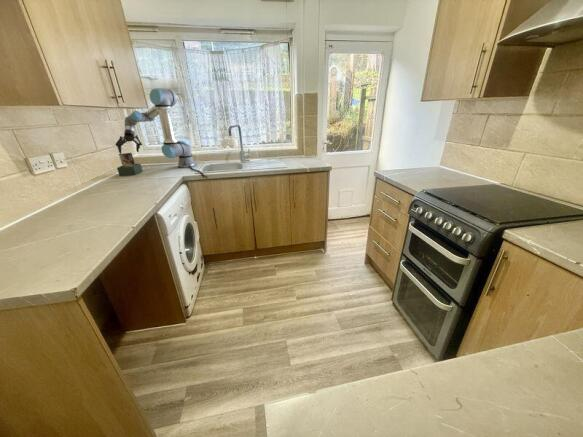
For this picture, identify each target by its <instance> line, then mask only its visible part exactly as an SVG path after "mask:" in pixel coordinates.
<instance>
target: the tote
mask: <svg viewBox="0 0 583 437" xmlns="http://www.w3.org/2000/svg"><path fill="white" fill-rule="evenodd" d="M116 170H117V172H118V175H119V177H125V176H126V177H127V176H136V175H139V174H141V173H142V172H143V168H142V164H141V163H135V166H133V167H123V165H120V166H118V167H116Z"/></svg>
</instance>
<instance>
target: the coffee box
mask: <svg viewBox="0 0 583 437" xmlns="http://www.w3.org/2000/svg"><path fill="white" fill-rule="evenodd" d="M118 156H119V159H120V162H121V166H123V167H133V166H135V164H136V163H135V159H134V156H133V154H132V152H125V153H123V152H122V153H121V154H120V153H118Z"/></svg>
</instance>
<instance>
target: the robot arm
mask: <svg viewBox="0 0 583 437" xmlns="http://www.w3.org/2000/svg"><path fill="white" fill-rule="evenodd" d="M149 100H150V102H151V103H152V104H153V106H151V107H150V108H149V109H148V110H146V111H145V112H141V111H138V110H133V111H132V112H131V113H130V115H128V116H125V118H124V133H123V136H122V135H120V136H119V139H118V140H117V141H116V142H115V146H116V147H117V150H118V154H122V147H123V145H124V144H125V143H127V142H134V143H135V145H136V148H135V150H136V152H137V153H139V152H140V151H139V149H140V148H141V146H143V144H142V142H141V141H140V139H139V136H138V135H135V130H136V129H135V128H136V125H137V124H138V123H143V122H147V123H148V122H154V121H155V120H156V118H157V117H158V116H159V120H160V125H161V126H160V127H161V130H162V135H163V141H162V146H161V152H162V154H163V155H164V156H165V157H166V158H167V159H175V158H178V167H179V168H185V169H186V168H190V169H191V170H192V171H196V172H198V173H200V174H201V175H202V177H203V178H204V177H205V178H206V179H208V178H209V177H208V176H207V175H204V173H203V172H202V171H200V170H198V169H195V168H193V167H195V166H196V165H197V164H196V163H197V162H196V161H195V160H194V158H193V154H192V149H191V144H190V142H189V141H188V140H178V139H177V140H176V136H175V130H174V125H173V121H172V116H171V111H170V109H171V108H173V107H174V106H175V105H176V104H177V103H178V95H177V93H176V92H175V90H172V89H171V88H161V87H160V88H159V87H158V88H152V89H151V90H150V92H149ZM212 211H213V217H214V223H215V228H216V230H218V224H217V218H216V212H215V208H214V207H212Z"/></svg>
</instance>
